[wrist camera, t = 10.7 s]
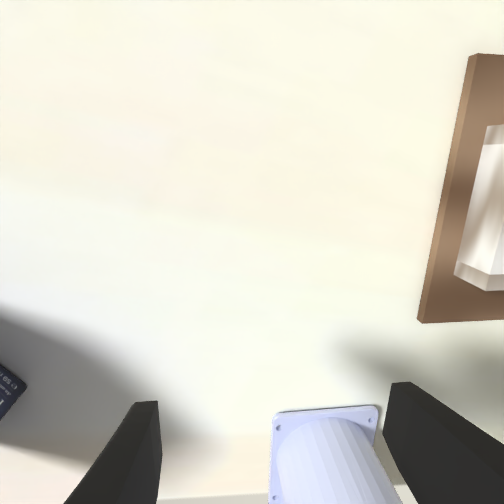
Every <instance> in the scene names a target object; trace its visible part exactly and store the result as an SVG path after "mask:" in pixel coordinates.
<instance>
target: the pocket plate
mask: <svg viewBox="0 0 504 504" xmlns="http://www.w3.org/2000/svg"><path fill="white" fill-rule="evenodd" d="M503 319H504V55H496V54H480V53H477V54H475V55H472V56H469V59H468V64H467V69H466V74H465V79H464V84H463V89H462V94H461V99H460V104H459V109H458V114H457V119H456V124H455V129H454V134H453V139H452V144H451V149H450V154H449V159H448V164H447V169H446V175H445V180H444V185H443V190H442V195H441V200H440V205H439V210H438V215H437V220H436V225H435V230H434V235H433V240H432V245H431V250H430V255H429V260H428V265H427V270H426V275H425V280H424V285H423V290H422V295H421V300H420V305H419V310H418V315H417V320H419V321H420V322H421V323H422V324H423V323H443V322H463V321H483V320H503Z"/></svg>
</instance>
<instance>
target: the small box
mask: <svg viewBox="0 0 504 504" xmlns="http://www.w3.org/2000/svg"><path fill="white" fill-rule="evenodd" d="M26 388H27V386H26V385H25V384H24V383H23V382H22V381H20V380H19V379H18V378H17V377H15V376H14V375H13V374H11V373H10V372H9V371H8V370H6V369H5V368H4V367H3V366H1V365H0V420H1V419H2V417H3V416H4V415H5V414H6V413H7V411H8V410H9V409H10V408H11V406H12V405H13V404H14V403H15V402H16V400H17V399H18V398H19V397H20V395H21V394H22V393H23V392H24V391H25V390H26Z"/></svg>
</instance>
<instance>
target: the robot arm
mask: <svg viewBox="0 0 504 504" xmlns="http://www.w3.org/2000/svg"><path fill="white" fill-rule="evenodd" d="M378 414H379V412H378V410H377V408H376V407H375V406H360V407H347V408H335V409H323V410H311V411H298V412H286V413H277V414H275V415H274V416H273V417H272V430H271V452H270V473H269V494H268V504H403V503H402V501H401V499H400V498H399V496H398V494H397V492H396V490H395V488H394V486H393V485H392V483H391V481H390V479H389V477H388V475H387V473H386V472H385V470H384V468H383V466H382V464H381V462H380V461H379V459H378V457H377V455H376V453H375V451H374V449H373V443H374V437H375V431H376V425H377V420H378ZM278 425H280V426H278ZM382 434H383V436H384V438H385V441H386V443H387V445H388V448H389V450H390V452H391V454H392V456H393V459H394V461H395V463H396V465H397V467H398V469H399V471H400V473H401V475H402V476H403V478H404V480H405V482H406V483H407V485H408V487H409V488H410V490H411V492H412V494H413V495H414V497H415V499H416V501H417V502H418V504H504V444H502V443H501V442H499V441H498V440H496V439H495V438H493V437H491V436H490V435H488V434H487V433H485V432H484V431H482V430H481V429H479V428H478V427H477V426H475V425H474V424H472V423H471V422H469V421H468V420H466V419H465V418H463V417H462V416H460V415H459V414H457V413H456V412H455V411H453V410H452V409H450V408H449V407H447V406H446V405H444V404H443V403H441V402H440V401H439V400H437V399H436V398H434V397H433V396H431V395H430V394H428V393H427V392H425V391H424V390H422V389H421V388H419V387H418V386H416V385H414V384H413V383H411V382H399V383H392V385H391V391H390V396H389V401H388V407H387V412H386V417H385V422H384V428H383V433H382ZM161 463H162V444H161V434H160V423H159V412H158V401H146V402H135V403H134V404H133V405H132V406H131V408H130V410H129V411H128V413H127V415H126V416H125V418H124V419H123V421H122V423H121V424H120V426H119V427H118V429H117V430H116V432H115V433H114V435H113V436H112V438H111V439H110V441H109V442H108V444H107V445H106V447H105V448H104V450H103V451H102V452H101V454H100V455H99V457H98V458H97V459H96V461H95V462H94V464H93V465H92V466H91V468H90V469H89V471H88V472H87V473H86V475H85V476H84V478H83V479H82V480H81V482H80V483H79V484H78V486H77V487H76V488H75V489H74V491H73V492H72V493H71V495H70V496H69V497H68V498H67V500H66V501H65V502H64V504H156V501H157V496H158V488H159V480H160V471H161Z"/></svg>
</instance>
